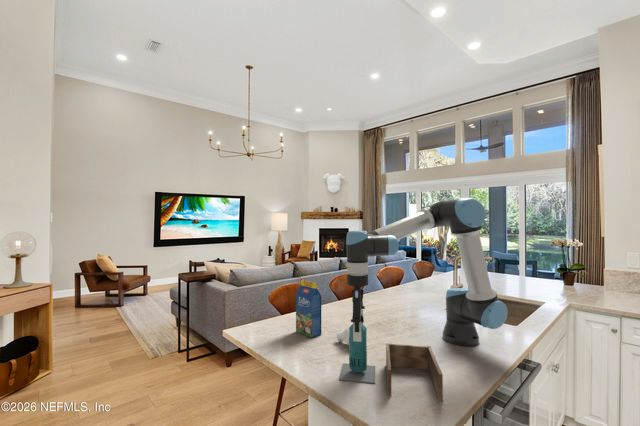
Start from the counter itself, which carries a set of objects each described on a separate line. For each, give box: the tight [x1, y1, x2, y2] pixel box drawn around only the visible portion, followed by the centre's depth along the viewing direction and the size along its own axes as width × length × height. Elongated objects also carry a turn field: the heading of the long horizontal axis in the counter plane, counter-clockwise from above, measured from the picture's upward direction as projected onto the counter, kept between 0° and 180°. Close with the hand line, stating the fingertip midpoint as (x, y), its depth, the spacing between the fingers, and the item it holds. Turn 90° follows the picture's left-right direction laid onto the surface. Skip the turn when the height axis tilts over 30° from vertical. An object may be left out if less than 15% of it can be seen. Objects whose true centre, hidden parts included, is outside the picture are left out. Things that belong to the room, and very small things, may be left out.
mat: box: [338, 363, 376, 385], centre depth 109 cm, size 12×12×1 cm
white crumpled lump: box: [336, 326, 350, 346], centre depth 134 cm, size 6×8×12 cm
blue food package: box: [295, 279, 322, 339], centre depth 148 cm, size 6×12×25 cm, turn 42°
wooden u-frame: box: [385, 342, 444, 402], centre depth 103 cm, size 16×21×8 cm
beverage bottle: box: [348, 315, 368, 372], centre depth 109 cm, size 6×7×20 cm
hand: (358, 333), depth 109 cm, fingers open, 13 cm apart
